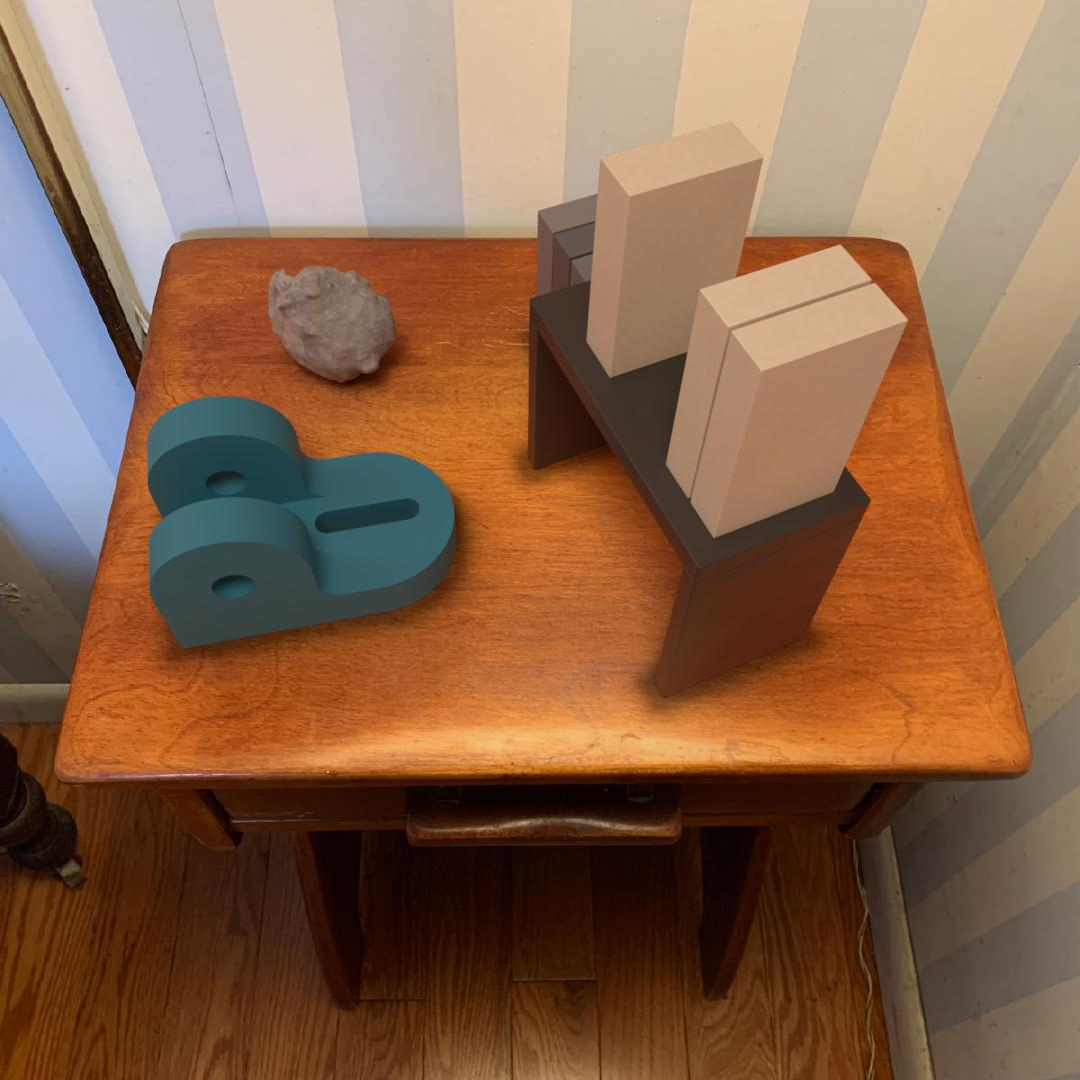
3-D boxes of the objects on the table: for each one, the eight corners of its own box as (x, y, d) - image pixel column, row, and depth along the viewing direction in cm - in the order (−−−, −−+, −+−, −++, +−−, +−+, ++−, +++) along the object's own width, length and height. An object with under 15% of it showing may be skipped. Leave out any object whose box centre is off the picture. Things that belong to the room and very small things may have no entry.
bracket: (182, 649, 63) (127, 558, 54) (177, 511, 69) (126, 409, 60) (470, 596, 66) (462, 501, 57) (442, 467, 71) (431, 363, 62)
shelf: (803, 639, 64) (872, 500, 52) (662, 698, 62) (698, 568, 49) (653, 413, 74) (681, 251, 62) (527, 458, 72) (529, 298, 59)
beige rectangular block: (721, 341, 58) (764, 157, 48) (609, 378, 56) (629, 196, 46) (695, 306, 59) (731, 120, 49) (585, 341, 57) (599, 156, 47)
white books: (833, 492, 52) (909, 319, 42) (713, 538, 50) (761, 371, 40) (781, 422, 54) (840, 243, 44) (665, 464, 53) (699, 288, 43)
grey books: (663, 380, 76) (685, 253, 66) (578, 409, 74) (587, 284, 64) (617, 312, 80) (631, 183, 70) (535, 339, 78) (537, 210, 68)
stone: (403, 332, 78) (389, 227, 70) (402, 400, 74) (387, 298, 66) (280, 336, 78) (251, 231, 69) (273, 405, 74) (241, 302, 66)
